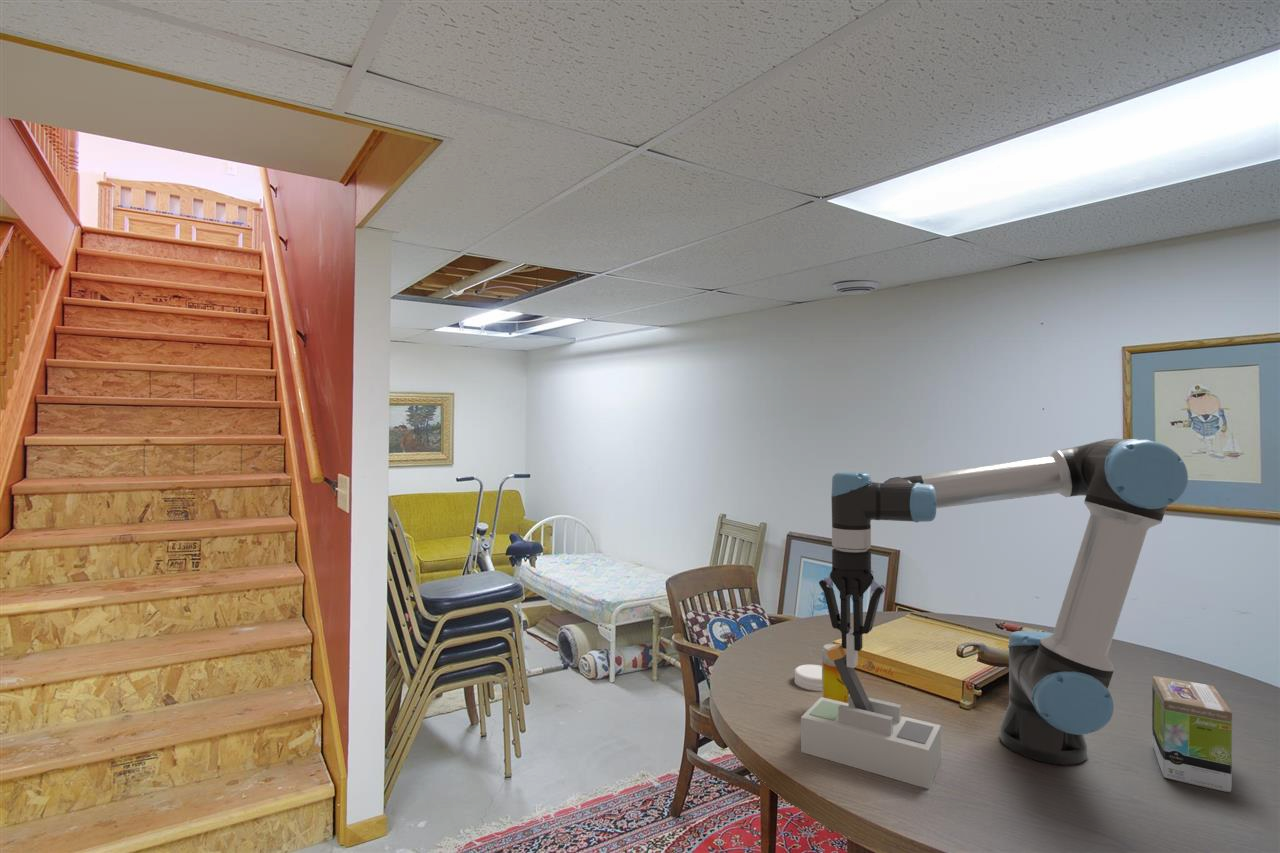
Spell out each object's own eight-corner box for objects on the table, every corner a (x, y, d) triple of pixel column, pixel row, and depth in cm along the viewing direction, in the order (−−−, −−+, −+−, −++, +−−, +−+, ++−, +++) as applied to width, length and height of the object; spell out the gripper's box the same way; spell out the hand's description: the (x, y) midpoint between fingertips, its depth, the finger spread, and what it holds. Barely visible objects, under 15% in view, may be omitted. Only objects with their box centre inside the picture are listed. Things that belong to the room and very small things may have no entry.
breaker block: (941, 761, 126) (940, 710, 126) (928, 789, 117) (928, 733, 117) (821, 729, 140) (820, 683, 140) (801, 751, 130) (800, 702, 130)
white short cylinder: (839, 682, 167) (839, 668, 167) (828, 695, 159) (828, 681, 159) (802, 674, 172) (801, 661, 172) (788, 686, 164) (788, 672, 164)
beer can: (851, 719, 145) (850, 652, 145) (823, 717, 146) (822, 650, 146) (848, 708, 151) (847, 644, 151) (821, 706, 152) (820, 642, 152)
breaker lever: (876, 710, 129) (844, 642, 133) (871, 717, 126) (838, 647, 130) (864, 713, 131) (832, 646, 135) (858, 720, 128) (826, 651, 132)
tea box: (1234, 795, 114) (1233, 711, 115) (1162, 779, 120) (1161, 699, 120) (1215, 758, 127) (1214, 683, 127) (1150, 745, 133) (1150, 673, 133)
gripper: (889, 548, 130) (890, 666, 130) (825, 543, 137) (826, 654, 137) (879, 554, 124) (880, 678, 123) (813, 548, 131) (814, 664, 131)
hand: (852, 665), depth 130 cm, fingers closed
